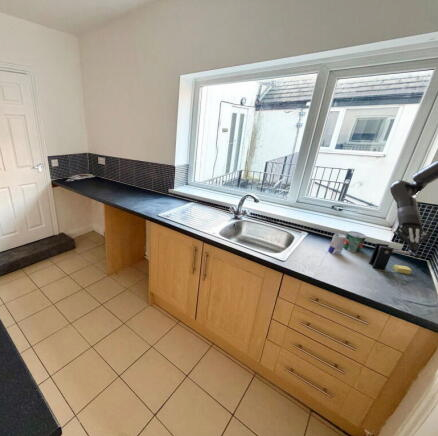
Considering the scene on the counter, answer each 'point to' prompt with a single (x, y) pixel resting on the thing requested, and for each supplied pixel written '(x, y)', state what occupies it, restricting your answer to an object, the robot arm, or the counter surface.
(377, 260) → the slicer
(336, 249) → the energy drink
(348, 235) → the canned tomato
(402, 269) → the butter
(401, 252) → the blade
